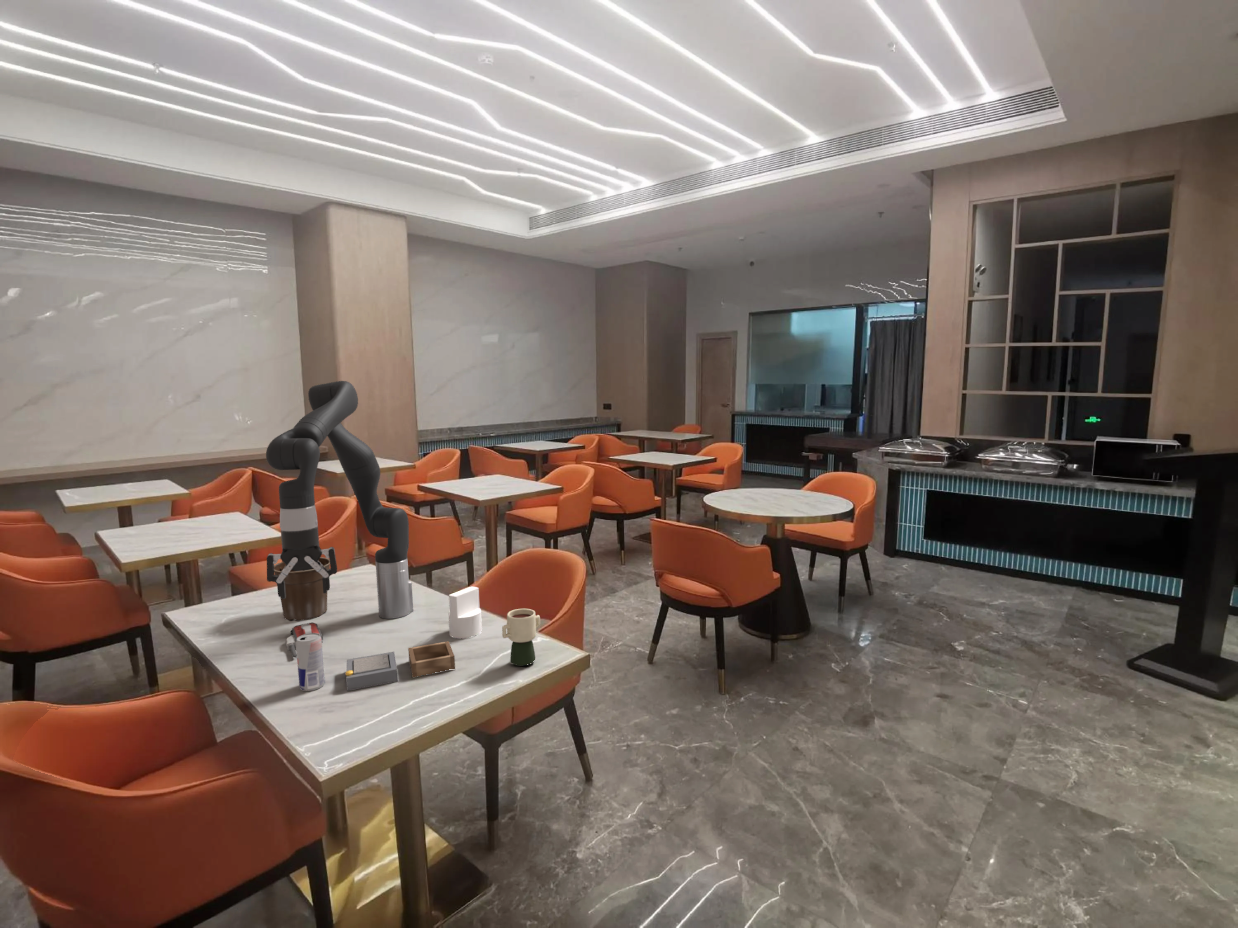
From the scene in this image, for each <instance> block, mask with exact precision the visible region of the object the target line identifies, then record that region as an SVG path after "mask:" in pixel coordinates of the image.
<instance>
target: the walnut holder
mask: <svg viewBox="0 0 1238 928" xmlns="http://www.w3.org/2000/svg"><path fill="white" fill-rule="evenodd" d="M407 650H408V663H409V666H410V667H409V668H410V671H411V677H412V678H413V677H414V678H418V677H417V676H419V677H422V676H421V675H424V676H427V675H426V674H430V675H433V674H432V673H435V672H440V671H445V670H449V669H455V670H456V663H455V662H456V658H455V653H454V651H453V649H452V646H451V644H450V642H449V641H442V642H436V643H430V644H425V645H418V646H411V647H408V648H407ZM445 672H446V671H445ZM440 673H441V672H440ZM435 674H436V673H435Z"/></svg>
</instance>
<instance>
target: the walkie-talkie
mask: <svg viewBox="0 0 1238 928" xmlns="http://www.w3.org/2000/svg"><path fill="white" fill-rule="evenodd" d="M309 633H318V634H320V636H321V639H322V644H323V641H324V637H323V634H322V631H321V629H320V628H319V625H318V623H316V622H307V623H302V624H301V623H300V624H297V625H294V626H293V627H292V628H291V630H290V636H288V637H287V638H286V639H285V640H286V650H287V651H290V653H291V656H292V658H296V659H297V652H296V641H297V638H298V637H299V636H301V635H304V634H309Z"/></svg>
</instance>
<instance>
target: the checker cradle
mask: <svg viewBox="0 0 1238 928" xmlns="http://www.w3.org/2000/svg"><path fill="white" fill-rule="evenodd" d="M384 654H388V660H389V669H383V670H378V671H372V672H367V673H361V674H355V675H354V660H355V659H361V658H367V657H373V656H379V655H384ZM397 667H398V666H397V660H396V655H395V651H390V652H389V651H388V652H383V653H378V654H371V655H365V656H361V657H353V658H348V659H346V671H345V676H346V677H345V680H346V691H347V692H349V691H355V690H359V689H364V688H369V687H375V686H380V685H386V684H391V683H397V682H398V679H399V678H398V677H399V676H398V668H397ZM396 681H397V682H396Z"/></svg>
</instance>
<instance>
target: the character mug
mask: <svg viewBox="0 0 1238 928" xmlns="http://www.w3.org/2000/svg"><path fill="white" fill-rule="evenodd" d="M540 627H541V617H540V615H539V614H537V615H536V611H535V610H533V609H530V608H518V609H517V608H516V609H513V610H510V611H508V612H507V613H506V624H504V625H502V627H501V632H502V633H501V634H502V638H503V639H507V638H508V639H509V641H511V642H512V643H511V647H510V659H509V661H510V662H509V663H511V664H512V665H515V666H521V667H522V666H523V665H527V664H530V663H532V662H533V661H534V660H535V661H536V652H535V647H534V642H533V640H534V639H535V638H536V637H537V636H536V635H537V629H538V628H540ZM533 663H534V662H533ZM533 663H532V664H533ZM530 665H531V664H530ZM523 667H524V666H523Z"/></svg>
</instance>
